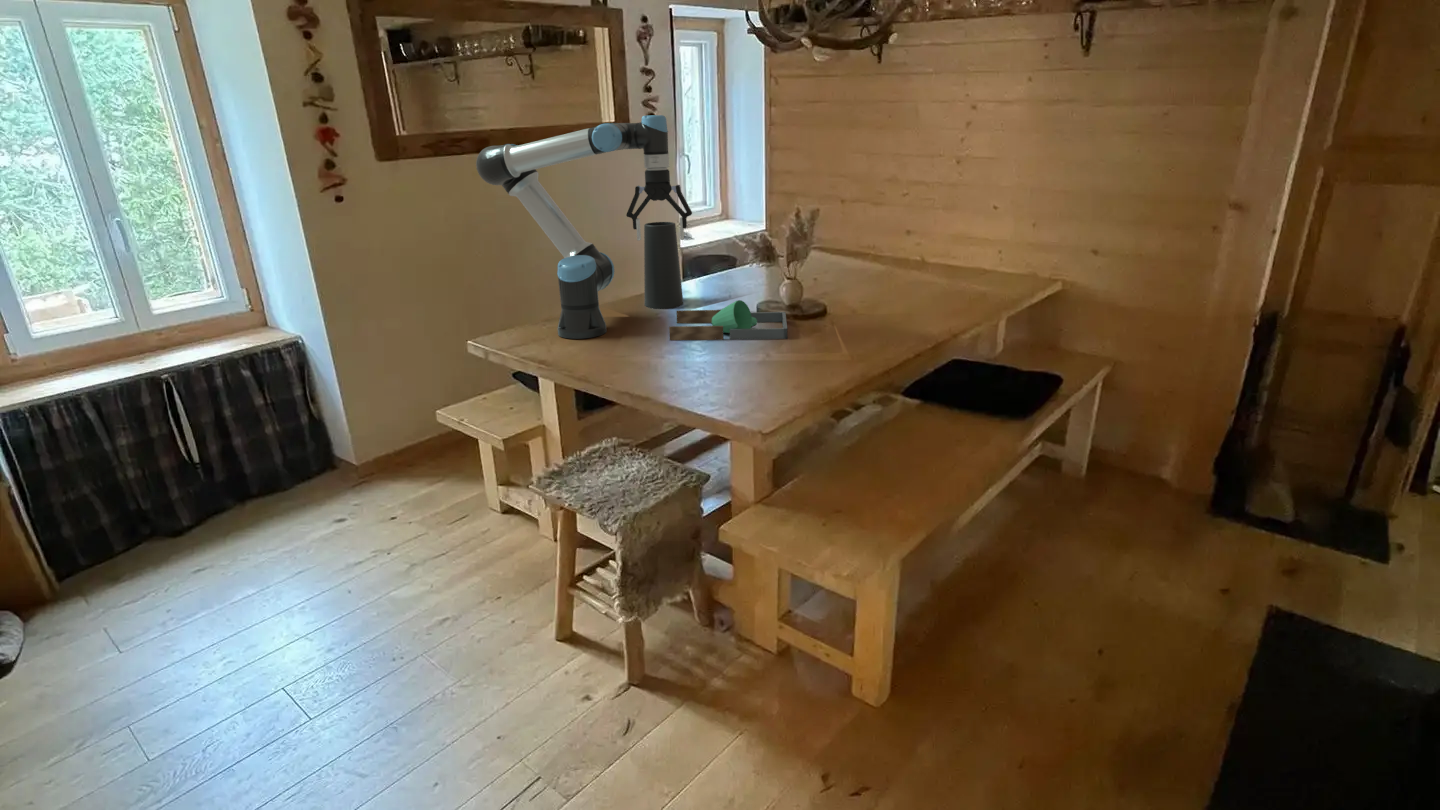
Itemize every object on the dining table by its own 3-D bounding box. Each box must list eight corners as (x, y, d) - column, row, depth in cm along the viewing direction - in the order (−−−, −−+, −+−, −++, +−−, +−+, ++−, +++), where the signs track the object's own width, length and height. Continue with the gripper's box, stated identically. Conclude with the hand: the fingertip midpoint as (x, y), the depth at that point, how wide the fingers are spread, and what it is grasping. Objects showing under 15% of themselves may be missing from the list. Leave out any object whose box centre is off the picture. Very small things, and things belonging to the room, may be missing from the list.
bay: (669, 340, 237) (669, 327, 235) (677, 322, 257) (676, 310, 256) (723, 339, 236) (722, 326, 234) (726, 321, 256) (726, 309, 255)
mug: (708, 336, 239) (735, 329, 233) (705, 305, 240) (732, 297, 235) (735, 343, 251) (762, 336, 245) (732, 313, 252) (759, 305, 246)
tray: (729, 339, 236) (729, 329, 235) (732, 321, 256) (732, 312, 255) (787, 338, 235) (787, 328, 234) (785, 321, 255) (785, 311, 254)
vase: (660, 313, 270) (655, 227, 261) (637, 307, 280) (631, 224, 270) (691, 306, 279) (687, 223, 269) (667, 301, 288) (663, 220, 279)
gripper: (614, 170, 239) (619, 242, 246) (696, 168, 237) (699, 240, 244) (618, 169, 246) (623, 238, 253) (698, 167, 244) (701, 237, 251)
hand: (660, 239), depth 249 cm, fingers open, 13 cm apart
